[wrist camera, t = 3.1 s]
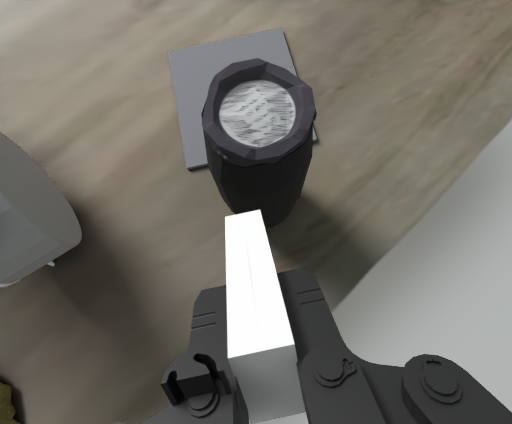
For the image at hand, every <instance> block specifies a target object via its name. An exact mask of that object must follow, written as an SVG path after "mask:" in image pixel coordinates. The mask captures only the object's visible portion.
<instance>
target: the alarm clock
mask: <svg viewBox="0 0 512 424" xmlns="http://www.w3.org/2000/svg"><path fill="white" fill-rule="evenodd" d="M81 239H82V231H81V228H80V225H79V222H78V219H77V217H76V215H75V213H74V211H73V209H72V208H71V206H70V204H69V203H68V201H67V200H66V198H65V197H64V195H63V194H62V192H61V191H60V190H59V188H58V187H57V186H56V184H55V183H54V182H53V181H52V180H51V178H50V177H49V176H48V175H47V174H46V173H45V171H44V170H43V169H42V168H41V167H40V166H39V165H38V164H37V163H36V162H35V161H34V160H33V159H32V158H31V157H30V156H29V155H28V154H27V153H26V152H25V151H24V150H22V149H21V148H20V147H19V146H18V145H17V144H15V143H14V142H13V141H12V140H10V139H9V138H8V137H7V136H5V135H4V134H2V133H1V132H0V287H7V286H9V285H12V284H14V283H17V282H18V281H20V280H21V279H23V278H25V277H26V276H28V275H30V274H31V273H33V272H35V271H36V270H38V269H39V268H41V267H43V266H44V265H46V264H48V265H50V266H54V265H55V263H54V262H53V261H52V260H54V259H56V258H57V257H59V256H61V255H62V254H64V253H65V252H67V251H69V250H70V249H72V248H74V247H75V246H77V245H78V244H79V243H80V241H81Z"/></svg>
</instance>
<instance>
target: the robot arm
mask: <svg viewBox="0 0 512 424" xmlns="http://www.w3.org/2000/svg"><path fill="white" fill-rule="evenodd" d="M225 239H226V285H224V286H219V287H215V288H210V289H205V290H202V291H201V292H200V294H199V296H198V297H197V299H196V301H195V303H194V310H193V319H192V327H191V328H192V331H191V336H190V344H189V351H188V352H186V353H183V354H182V355H181V356H179V357H178V358H177V359H175V360H174V361H173V362H172V363H171V364H170V366H169V367H168V368H167V370H166V371H165V373H164V376H163V378H162V381H161V386H162V388H163V389H164V391H165V393H166V395H167V397H168V398H169V400H170V402H171V404H170V405H169V406H168V407H167V408H165V409H164V410H162V411H161V412H159V413H158V414H156V415H154V416H153V417H151V418H149V419H147V420H146V421H144V422H142V423H140V424H249V419H250V422H251V424H253V423H257V422H262V421H266V420H271V419H276V418H280V417H285V416H290V415H294V414H298V413H303V412H306V414H307V418H308V422H309V424H512V413H511V411H509V410H508V409H507V408H506V407H505V406H504V405H503V404H502V403H501V402H499V401H498V400H497V399H496V398H495V397H494V396H493V395H492V394H491V393H490V392H489V391H487V390H486V389H485V388H484V387H483V386H482V385H481V384H480V383H479V382H478V381H476V380H475V379H474V378H473V377H472V376H471V375H470V374H469V373H468V372H467V371H466V370H464V369H463V368H461V367H460V366H458V365H457V364H456V363H454V362H453V361H451V360H448V359H446V358H443V357H440V356H438V355H428V354H427V355H426V354H423V355H419V356H416V357H413V358H412V359H411V360H409V361H408V362H407V363H406V364H405V367H397V366H388V365H379V364H374V363H370V362H367V361H365V360H363V359H361V358H359V357H358V356H356V355H355V354H353V353H352V352H351V351H350V350H349V349H348V348H347V346H346V345H345V343H344V341H343V340H342V337H341V335H340V333H339V330H338V328H337V326H336V323H335V321H334V319H333V316H332V314H331V312H330V309H329V307H328V305H327V303H326V301H325V298H324V296H323V293H322V291H321V289H320V286H319V284H318V282H317V279H316V277H315V276H314V275H313V274H312V273H311V272H310V271H308V270H307V269H306V268H305V267H304V268H299V269H295V270H290V271H285V272H281V273H276V269H275V265H274V262H273V258H272V254H271V250H270V246H269V242H268V238H267V234H266V230H265V226H264V223H263V219H262V215H261V211H260V210H255V211H250V212H246V213H241V214H236V215H232V216H227V217H225ZM109 424H126V423H123V422H114V423H109Z"/></svg>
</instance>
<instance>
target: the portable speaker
mask: <svg viewBox="0 0 512 424" xmlns="http://www.w3.org/2000/svg"><path fill="white" fill-rule="evenodd" d="M316 115H317V113H316V109H315V104H314V98H313V92H312V88H311V87H310V86H308V85H307V84H306V83H305V82H303V81H302V80H300V79H299V78H298V77H296V76H295V75H294V74H292V73H291V72H290V71H288V70H287V69H285V68H283V67H280V66H277V65H275V64H272V63H269V62H267V61H264V60H262V59H259V58H255V59H250V60H245V61H240V62H235V63H231V64H230V65H228V66H227V67H226V68H224V69H223V70H221V71H220V72H219V73H217V74H216V75H215V76H214V78H213V80H212V82H211V84H210V85H209V90H208V95H207V99H206V102H205V105H204V107H203V110H202V113H201V116H202V127H203V133H204V140H205V147H206V155H207V162H208V167H209V169H210V171H211V174H212V176H213V178H214V180H215V183H216V185H217V187H218V189H219V192H220V194H221V196H222V198H223V200H224V201H225V202H226V204H227V205H228V207H229V208H230V209H231V211H232V212H234V213H235V214H241V213H246V212H250V211H255V210H260V211H261V215H262V219H263V223H264V226H265V227H272V226H274V225H276V224H277V223H279V222H281V221H283V219H284V218H285V217H286V216H287V215H288V214H289V212H290V211H291V209H292V207H293V205H294V204H295V202H296V200H297V199H298V198H299V196H300V194H301V190H302V187H303V184H304V181H305V177H306V174H307V171H308V168H309V164H310V161H311V158H312V144H313V120H314V121H315V118H316Z"/></svg>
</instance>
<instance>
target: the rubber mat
mask: <svg viewBox="0 0 512 424" xmlns="http://www.w3.org/2000/svg"><path fill="white" fill-rule="evenodd" d="M167 54H168V60H169V66H170V71H171V77H172V83H173V89H174V95H175V101H176V107H177V113H178V119H179V125H180V131H181V137H182V143H183V149H184V155H185V161H186V167H187V169H188V170H189V169H194V168H198V167H203V166H207V165H208V162H207V155H206V147H205V140H204V133H203V127H202V116H201V113H202V110H203V107H204V105H205V102H206V99H207V95H208V90H209V85H210V84H211V82H212V80H213V78H214V76H215V75H216V74H217V73H219V72H220V71H221V70H223V69H224V68H226V67H227V66H228V65H230V64H231V63H235V62H240V61H245V60H250V59H255V58H259V59H262V60H264V61H267V62H269V63H272V64H275V65H277V66H280V67H283V68H285V69H287V70H288V71H290V72H291V73H292V74H294V75H295V76H296V77H297V75H296V72H295V68H294V65H293V62H292V59H291V56H290V53H289V50H288V47H287V43H286V40H285V37H284V34H283V31H282V28H281V27H280V28H276V29H271V30H266V31H262V32H257V33H252V34H248V35H243V36H238V37H234V38H229V39H224V40H220V41H215V42H210V43H205V44H201V45H196V46H191V47H187V48H182V49H177V50H173V51H168V52H167ZM315 141H317V137H316V134H315V131H314V128H313V142H315Z"/></svg>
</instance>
